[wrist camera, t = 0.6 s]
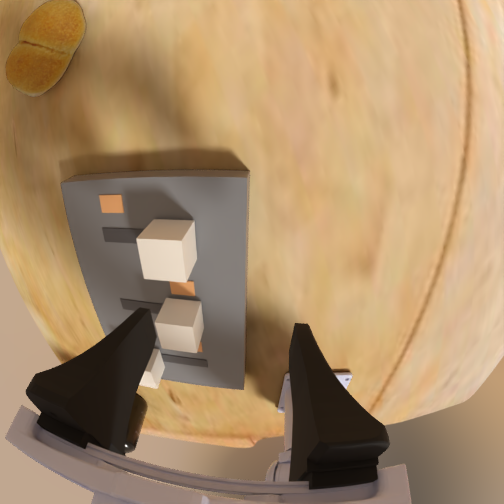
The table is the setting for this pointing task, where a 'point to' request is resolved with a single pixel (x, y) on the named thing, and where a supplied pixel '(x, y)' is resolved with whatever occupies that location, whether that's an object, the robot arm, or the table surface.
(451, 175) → the table surface
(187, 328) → the slider middle
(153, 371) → the block
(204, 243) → the switch panel
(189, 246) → the block
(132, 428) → the supplement bottle
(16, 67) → the bread roll
